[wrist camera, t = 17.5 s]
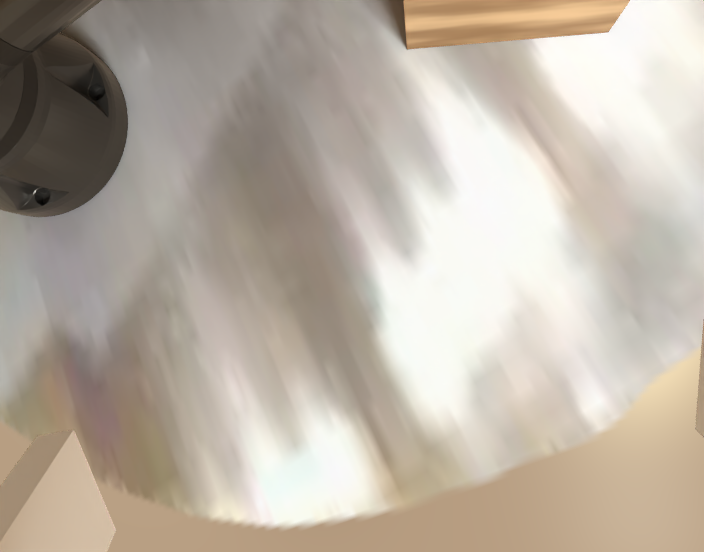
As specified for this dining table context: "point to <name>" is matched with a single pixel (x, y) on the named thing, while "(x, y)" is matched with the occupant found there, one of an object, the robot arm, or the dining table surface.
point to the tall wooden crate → (504, 20)
